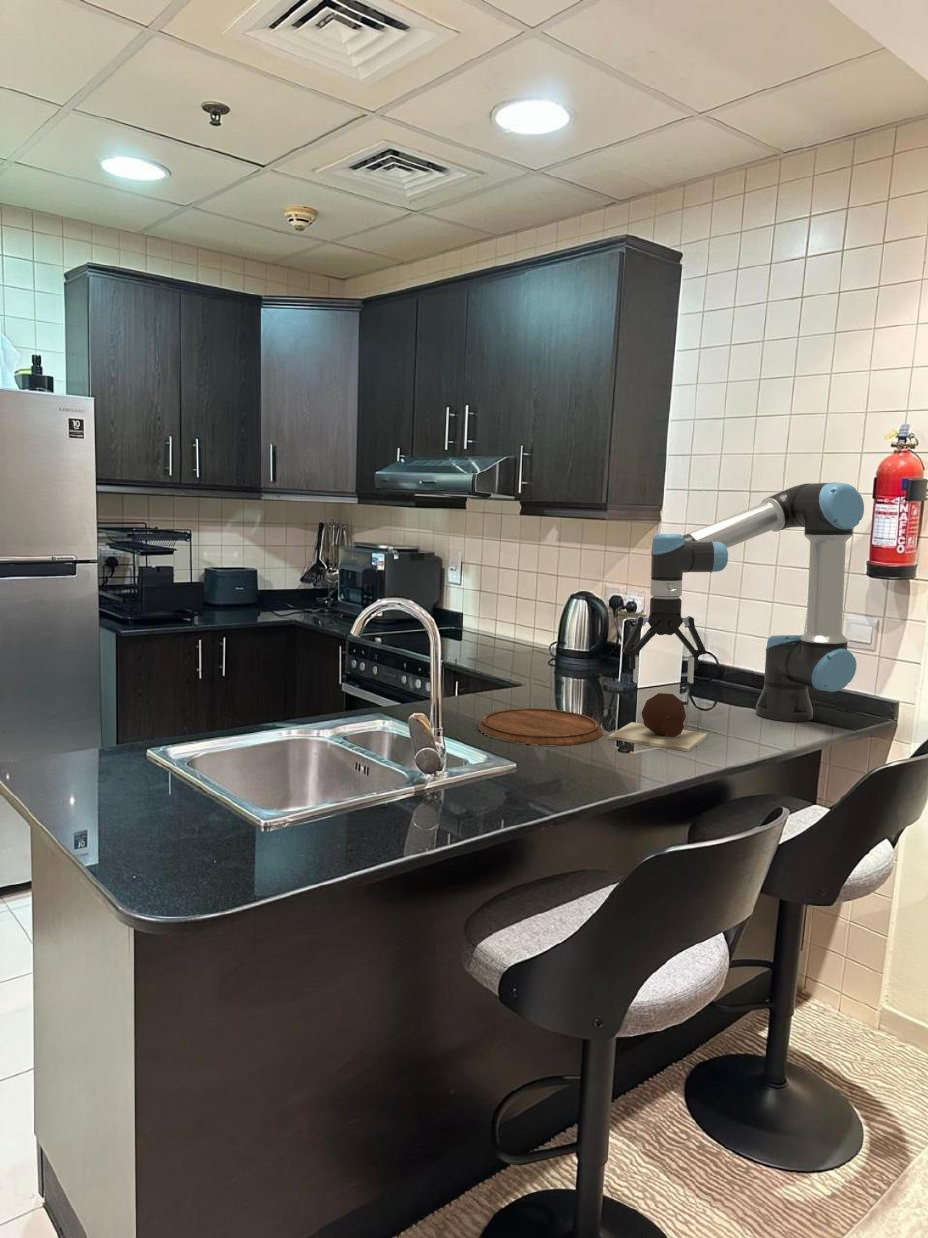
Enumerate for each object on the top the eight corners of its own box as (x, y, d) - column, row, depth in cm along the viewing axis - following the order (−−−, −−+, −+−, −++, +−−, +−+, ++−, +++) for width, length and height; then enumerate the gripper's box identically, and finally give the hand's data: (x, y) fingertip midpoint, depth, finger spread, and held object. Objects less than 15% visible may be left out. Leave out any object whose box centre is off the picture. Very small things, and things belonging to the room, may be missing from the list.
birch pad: (707, 736, 220) (707, 733, 220) (688, 751, 205) (688, 748, 205) (631, 725, 230) (631, 722, 230) (608, 738, 215) (608, 735, 215)
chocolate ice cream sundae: (645, 710, 207) (633, 691, 222) (655, 753, 209) (643, 731, 224) (689, 699, 206) (674, 681, 221) (698, 742, 209) (683, 721, 223)
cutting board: (552, 755, 200) (552, 745, 200) (451, 729, 222) (451, 720, 221) (627, 732, 224) (627, 722, 224) (529, 710, 245) (529, 702, 245)
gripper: (617, 598, 209) (615, 684, 212) (721, 599, 209) (717, 685, 212) (612, 595, 217) (610, 678, 220) (712, 595, 217) (708, 679, 219)
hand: (662, 682), depth 216 cm, fingers open, 13 cm apart
